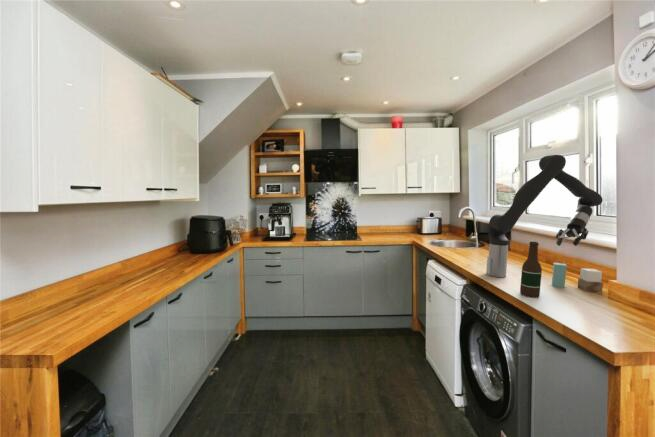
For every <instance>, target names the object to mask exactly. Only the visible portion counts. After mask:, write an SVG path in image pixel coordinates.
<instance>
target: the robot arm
mask: <svg viewBox="0 0 655 437" xmlns="http://www.w3.org/2000/svg"><path fill="white" fill-rule="evenodd" d="M566 164H567V160H566V157H565V156H563V155H561V154H551V155H550V154H549V155H545V156H543V157H541V158H540V159H539V162H538V167H539V169H540V170H541V171H540V172H539V173H538V174H537V175H535V176H534V177H532V178H530V179H529V180H527V181H526V182H525V183H523V184H522V186H521V187H520V188H519V189H518V190H517V191H516V192H515V194H514V197H513V200H512V204H511V206H510V207H509V208H508V209H507V210H506V212H505V213H503V214H495V215H492V217H490V219H489V221H488V239H489V247H488V248H489V249H488V256H487V257H486V258H487V259H486V271H485V272H486V274H487V275H488V276H489V277H495V278H496V277H497V278H505V277H507V267H508V254H509V239H508V238H507V237H506V233H509V232H510V231H511V230H512V229H513V228H514V227H515V225H516V224H517V223H518V220H519V219H520V218H521V216H522V215H523V214H524V212H525V211H526V210H527V209H528V208H529V207H530V205H532V203H533V202H534V201H535V200H536V199H537V197H539V195H540V194H541V193H542V192H543V190H544V189H545V188H546V187H547V186H548V184H550V182H551V181H553V179H554V180H555V181H557V182H559V184H561V185H563V186H564V187H565V188H566V189H567V190H568V191H569V192H570V193H571V194H572V195H573V196H574V197H576V198H578V200H577V207H576V208H577V209H576V210H575V212H574V214H573V215H572V216H571V217H570V220H569V222H568V224H567V225H566V228H565V229H564V230H563V229H561V228H560V229H559V230H558V232H557V234H556V235H555V238H556V239H557V240H556V245H557V246H558V247H561V245H562V243H563V241H564V240H567V239H569V238H574V240H573V242H572V244H573V246H576V247H577V245H580V244H579V243H580V241H582V240H583V241H584V240H586V239H587V237H588V235H589V232H590V231H589V230H588V229H587V228H586V226H587V225H588V223H589V220H590V218H591V216H592V214H593V208H592V207H597V206H600V205H602V204H603V197H602V195H601V194H600V193H598V192H597V191H596V190H593V189H592V188H589V187H587V185H585V184H584V183H583V182H582V180H580V179H578V178H577V177H575V176H573V175H571V174H569V173H568V172H566V171H564V168H565V167H566Z"/></svg>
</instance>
